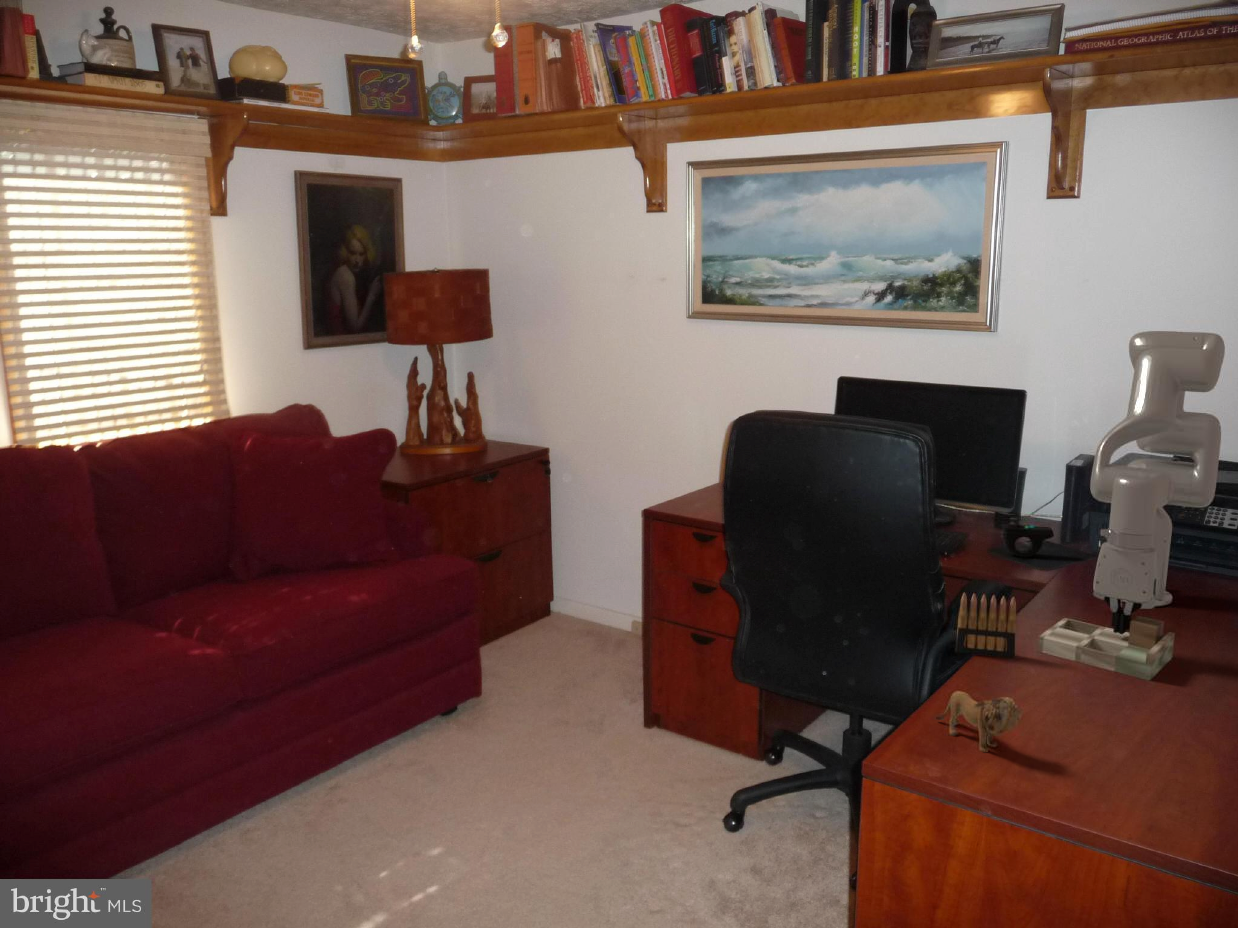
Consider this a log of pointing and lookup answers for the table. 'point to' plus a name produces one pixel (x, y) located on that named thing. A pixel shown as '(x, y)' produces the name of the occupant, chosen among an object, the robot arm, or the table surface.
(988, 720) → the lion figurine
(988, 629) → the ammunition clip
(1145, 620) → the walnut block
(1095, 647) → the divided compartment tray
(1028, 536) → the controller
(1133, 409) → the robot arm
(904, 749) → the table surface
